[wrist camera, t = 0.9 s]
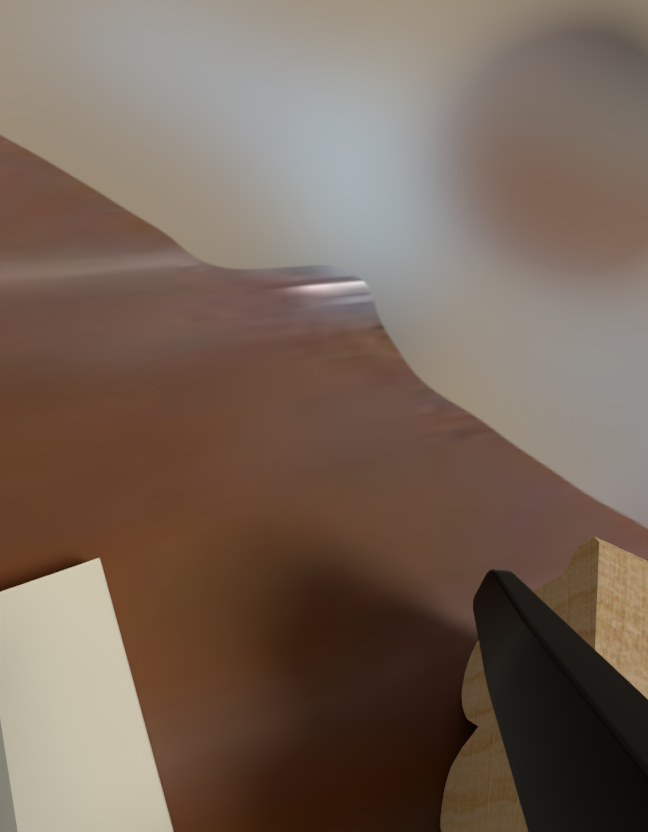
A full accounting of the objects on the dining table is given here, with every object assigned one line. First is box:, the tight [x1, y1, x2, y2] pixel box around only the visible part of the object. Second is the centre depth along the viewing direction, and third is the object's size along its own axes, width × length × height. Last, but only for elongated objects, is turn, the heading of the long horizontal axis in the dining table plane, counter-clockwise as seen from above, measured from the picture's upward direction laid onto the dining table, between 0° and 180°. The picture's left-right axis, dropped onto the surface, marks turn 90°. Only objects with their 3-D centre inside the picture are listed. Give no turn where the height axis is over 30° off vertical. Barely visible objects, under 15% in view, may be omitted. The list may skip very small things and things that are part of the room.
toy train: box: [440, 537, 648, 832], centre depth 18 cm, size 6×17×10 cm, turn 159°
